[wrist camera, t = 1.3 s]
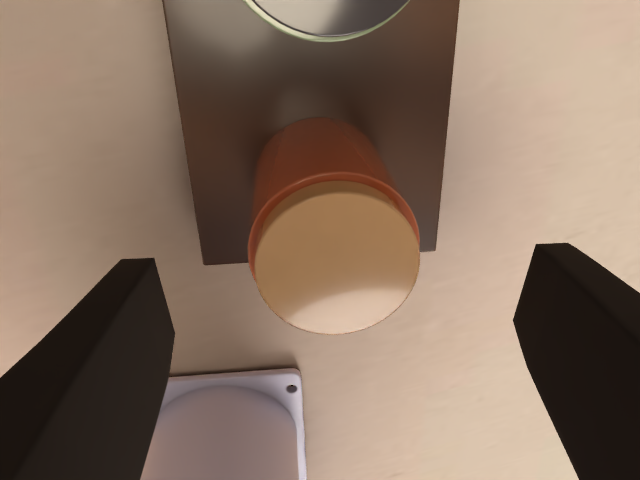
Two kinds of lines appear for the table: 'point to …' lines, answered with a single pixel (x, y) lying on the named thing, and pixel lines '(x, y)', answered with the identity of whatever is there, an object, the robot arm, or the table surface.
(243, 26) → the stand
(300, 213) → the spice jar
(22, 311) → the table surface
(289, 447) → the robot arm
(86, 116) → the table surface
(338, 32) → the sage pot
